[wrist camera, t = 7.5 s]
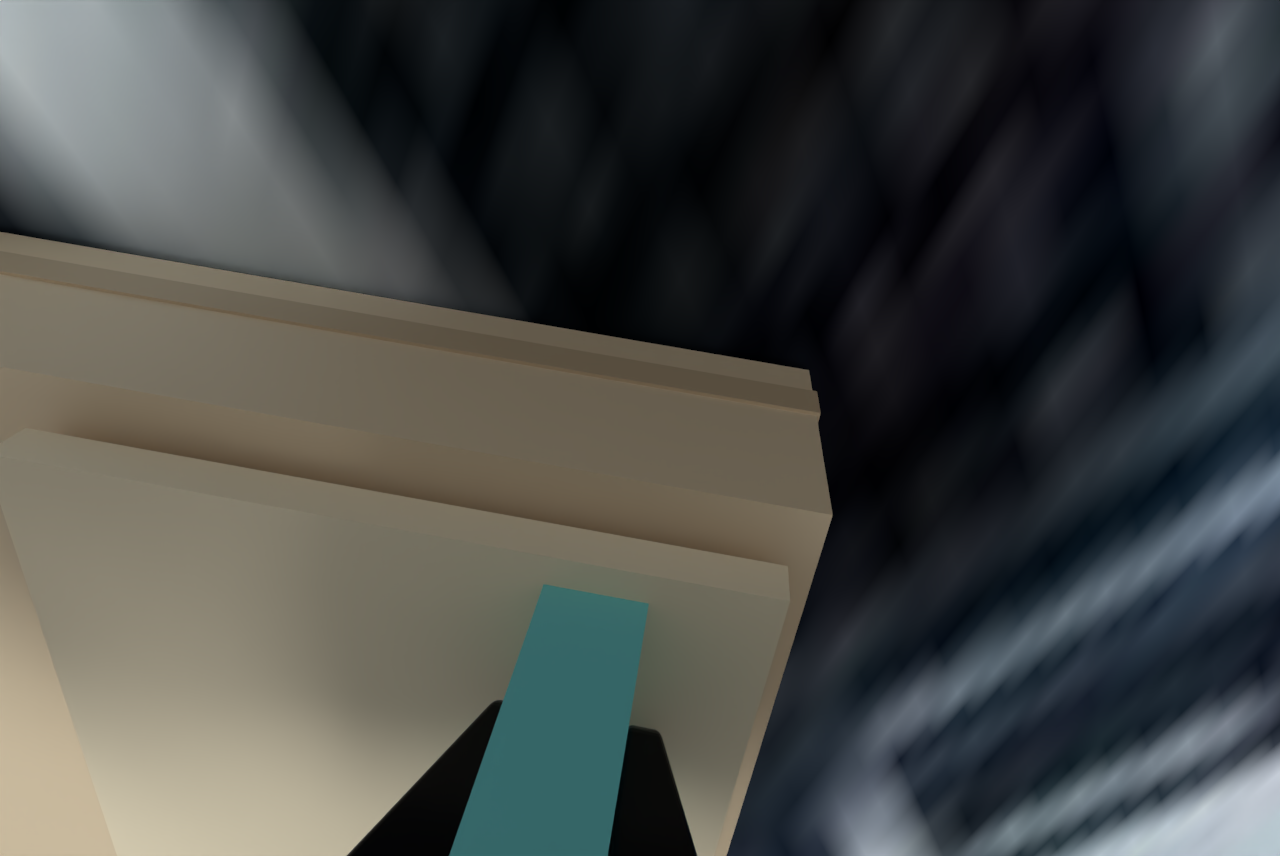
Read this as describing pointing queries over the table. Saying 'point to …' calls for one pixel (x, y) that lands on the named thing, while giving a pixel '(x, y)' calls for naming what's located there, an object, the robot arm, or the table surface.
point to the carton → (380, 445)
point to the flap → (370, 654)
